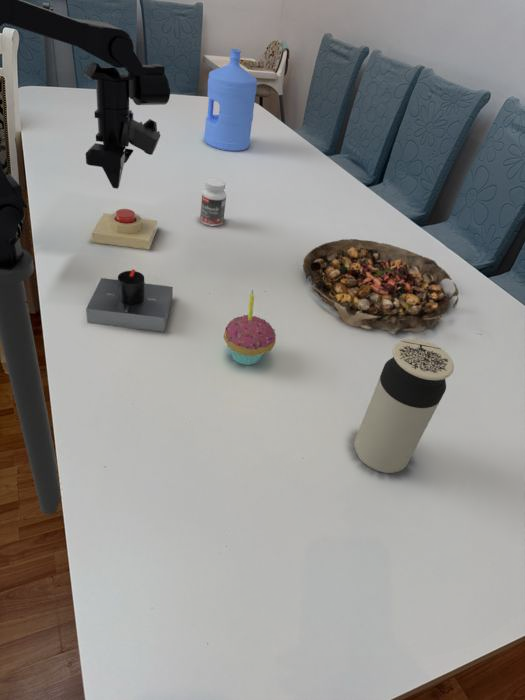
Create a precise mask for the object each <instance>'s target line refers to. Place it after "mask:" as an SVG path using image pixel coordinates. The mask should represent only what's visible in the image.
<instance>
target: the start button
mask: <svg viewBox="0 0 525 700" xmlns="http://www.w3.org/2000/svg"><path fill="white" fill-rule="evenodd" d="M115 213H116V221H117V222H119V223H125V224H128V223H133V222H135V214H136V212H135V211H134V210H132V209H128V208H121V209H117V210H116V211H115Z"/></svg>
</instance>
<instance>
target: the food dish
mask: <svg viewBox="0 0 525 700" xmlns="http://www.w3.org/2000/svg"><path fill="white" fill-rule="evenodd" d="M302 269H303V272H304V274H305V279H306V280H307V279H308V278H309V277H310V278H311V280H310V279H309V283H310V284H311V286H313V289H314V292H315V293H317V294H318V297H321V298H322V299H321V300H322V302H324V303H325V304H329V306H332V307H333V309H334V311H336V312H337V313H338V315H339V316H340V318H341V320H342V321H343V322H344V323H345V324H346V325H349V326H352V327H356V328H357V327H360V328H362V329H366V330H371V329H377V330H381V331H386V332H389V333H390V334H393V335H396V334H397V333H398V332H412V333H421V332H422V331H424V330H428V329H430V330H431V329H433V328H434V326H436V325H437V323H438V321H440V318H441V317H443V315H442V314H445V313H446V312H447V310H448V309H449V308H450V304H451V300H452V298H453V297H456V300H455V301H454V302H453V304H452V308H453V309H454V308H456V307H457V305H458V303H459V288H458V286H457V285H456V283H455V281H452V280H453V279H452V277H451V275H450V274H449V273H448V272H447V271H446V269H444V268H443V267H441V266H439V265H438V263H437V262H436V261H435V260H434V259H431V258H429V257H426V256H423V255H421V254H418V253H415V252H413V251H411V250H408V249H405V248H402V247H399V246H396V245H392V244H389V243H384V242H382V243H381V242H377V241H373V240H365V239H364V240H363V239H356V238H349V239H347V238H346V239H339V240H334V241H330V242H325V243H322V244H320V245H318V246H316V247H314V248H313V249H311V250H310V251H308V253H307V254H306V255H305V257H304V259H303V264H302ZM445 279H446V280H447V279H448V280H450V281H452V284H453V287H454V292H453V293H452V294H451V296H450V294H449V293H446V290H444V287H442V286H441V285H440V284H441V282H442V281H444V280H445Z"/></svg>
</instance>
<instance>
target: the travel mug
mask: <svg viewBox="0 0 525 700" xmlns="http://www.w3.org/2000/svg"><path fill="white" fill-rule="evenodd" d="M392 356H393V357H391V358H389V359H388V360H387V361H386V362H385V363H384V365H383V368H382V370H381V373H380V375H379V378H378V380H377V383H376V385H375V388H374V391H373V393H372V396H371V398H370V401H369V403H368V406H367V408H366V410H365V413H364V416H363V419H362V421H361V423H360V425H359V428H358V431H357V433H356V436H355V438H354V443H353V445H354V447H353V448H354V450H355V453H356V455H357V456H358V458H359V459H360V460H361V461H362V462H363V463H364V464H365V465H366V466H368V467H369V468H371V469H373V470H376V471H378V472H380V473H388V474H391V473H393V474H394V473H398V472H401V471H402V470H404V469H406V467H407V465H408V464H409V462H410V460H411V458H412V456H413V454H414V452H415V450H416V449H417V446H418V444H419V442H420V441H421V439H422V437H423V435H424V433H425V431H426V429H427V427H428V425H429V423H430V422H431V419H432V418H433V415H434V414H435V411H436V410H437V408H438V406H439V404H440V402H441V400H442V398H443V397H444V394H445V393H446V390H447V381H446V379H447V378H450V377H451V375H452V374H453V372H454V369H455V365H454V362H453V359H452V357H451V356H450V355H449V354H448V353H447V352H446V351H445V350H444V349H443V348H441V347H439V346H438V345H436V344H434V343H432V342H429V341H427V340H423V339H418V338H405V339H401V340H399V341H398V342H396V343H395V345H393V348H392Z"/></svg>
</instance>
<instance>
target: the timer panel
mask: <svg viewBox="0 0 525 700" xmlns="http://www.w3.org/2000/svg"><path fill="white" fill-rule="evenodd" d="M144 292H145V297H144V300H143V301H142V302H140V303H136V304H127V303H124V302H122V301H121V300H120V299H119V294H118V279H113V278H106V277H101V278H100V279H99V282H98V284H97V285H96V287H95V290H94V291H93V294H92V296H91V298H90V299H89V301H88V304H87V306H86V308H85V311H86V322H87V324H91V325H92V324H93V325H100V326H109V327H117V328H118V327H119V328H125V329H126V328H127V329H136V330H144V331H151V332H159V333H160V332H161V333H164V332H165V330H166V326H167V322H168V318H169V316H170V315H169V314H170V311H171V307H172V304H173V295H174V294H173V293H174V287H173V286H170V285H161V284H154V283H146V282H144Z"/></svg>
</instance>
